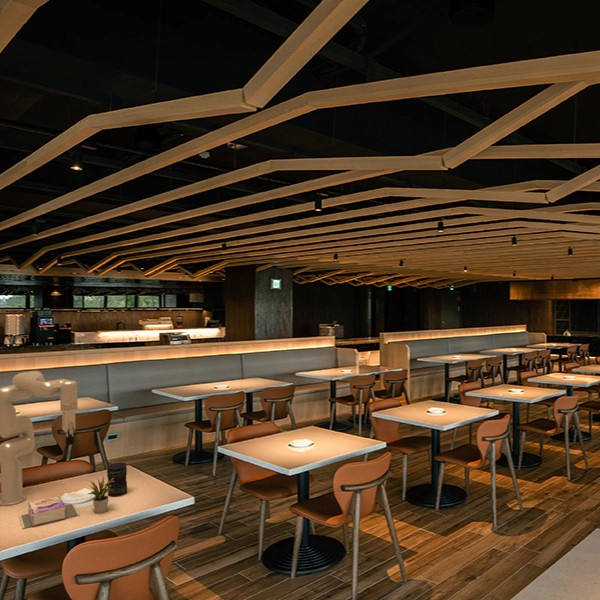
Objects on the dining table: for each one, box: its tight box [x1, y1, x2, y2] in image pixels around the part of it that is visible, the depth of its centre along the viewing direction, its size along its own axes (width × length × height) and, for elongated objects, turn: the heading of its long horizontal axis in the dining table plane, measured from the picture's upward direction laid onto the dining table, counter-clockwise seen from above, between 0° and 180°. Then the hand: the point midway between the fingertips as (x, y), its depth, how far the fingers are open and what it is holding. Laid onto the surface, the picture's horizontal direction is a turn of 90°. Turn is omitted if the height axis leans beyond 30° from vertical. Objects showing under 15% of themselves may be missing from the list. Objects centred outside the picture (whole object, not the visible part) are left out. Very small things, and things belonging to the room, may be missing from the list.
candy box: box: [27, 495, 66, 527], centre depth 239 cm, size 14×6×16 cm
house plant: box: [87, 476, 114, 514], centre depth 244 cm, size 14×14×16 cm
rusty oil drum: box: [106, 462, 128, 498], centre depth 267 cm, size 10×10×15 cm
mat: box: [18, 502, 80, 530], centre depth 240 cm, size 16×24×1 cm
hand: (69, 444), depth 243 cm, fingers closed
